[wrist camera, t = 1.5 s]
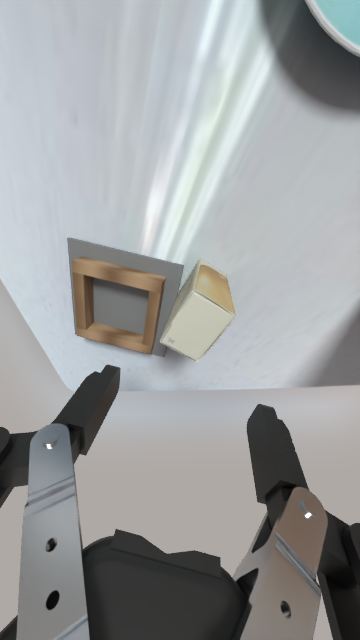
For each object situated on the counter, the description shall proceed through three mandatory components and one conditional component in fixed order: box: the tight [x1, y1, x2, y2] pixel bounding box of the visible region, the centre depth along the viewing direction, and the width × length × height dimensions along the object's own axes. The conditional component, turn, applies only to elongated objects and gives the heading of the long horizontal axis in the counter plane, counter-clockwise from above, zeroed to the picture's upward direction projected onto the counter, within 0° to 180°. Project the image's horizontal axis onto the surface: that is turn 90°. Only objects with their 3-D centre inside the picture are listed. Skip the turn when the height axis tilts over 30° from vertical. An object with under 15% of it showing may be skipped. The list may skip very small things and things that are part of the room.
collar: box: [72, 256, 166, 354], centre depth 30 cm, size 12×12×2 cm
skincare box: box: [160, 259, 236, 362], centre depth 23 cm, size 6×4×12 cm
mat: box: [67, 238, 184, 357], centre depth 31 cm, size 16×16×1 cm
